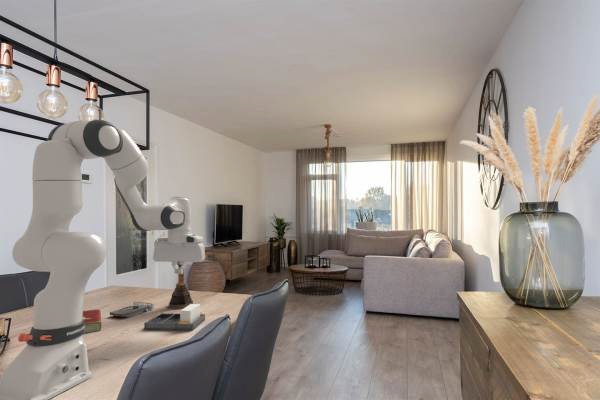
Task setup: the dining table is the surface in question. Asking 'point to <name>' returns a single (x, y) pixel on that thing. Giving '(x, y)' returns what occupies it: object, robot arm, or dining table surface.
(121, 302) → the dining table surface
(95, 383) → the dining table surface
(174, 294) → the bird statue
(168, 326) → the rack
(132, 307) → the graphics card
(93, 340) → the dining table surface
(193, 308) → the white rectangular block
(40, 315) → the robot arm
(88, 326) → the hardcover book
